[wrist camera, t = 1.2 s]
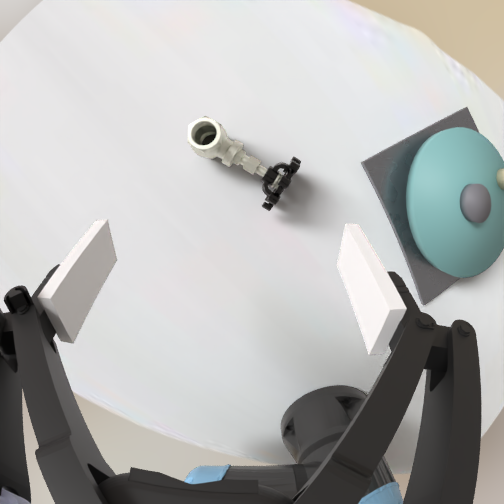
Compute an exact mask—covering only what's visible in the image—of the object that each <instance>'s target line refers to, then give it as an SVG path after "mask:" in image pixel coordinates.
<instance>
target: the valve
mask: <svg viewBox="0 0 504 504" xmlns="http://www.w3.org/2000/svg"><path fill="white" fill-rule="evenodd" d="M212 134H214V135H216V138H215V139H214V141H213V142H212V143H210V144H208V145H202V142H203V140H204V138H205V137H206V136H208V135H212ZM188 144H190V145H191V148H192V150H193V151H194V152H195V153H196V154H197V155H199V156H201V157H204V158H210V159H211V160H212V159H214V158H216V157H219V158H221V159H222V163H223V164H225V165H227V166H228V167H230V166H231V165H232V164H233V163H235V164H236V165H239V164H241V165H243V166H244V167H243V169H244V170H246V171H248V172H249V173H251V174H254V173H255V172H256V173H257V174H259V175H261V176H262V177H263V178H262V179H261V181H262V182H263V186H262V189H263V192H264V193H265V194H266V195H267V197H266V199H265V201H267V202H269V203H266V202H264V203H263V205H262V207H263V208H265V209H267V210H268V211H270V210H271V208H272V207H273V205H276V203H277V202H278V200H279V199H280V195H281V193H282V192H283V190H284V189H287V187H288V186H289V184H290V183H291V180H290V179H291V177H292V176H293V174H295V173H296V172H297V170H298V169H299V167H300V163H301V161H300V160H299V159H297V158H296V157H293V158H292V159H291V161H290V162H291V163H290V165H288V164H286V163H278V164H276V165H275V166H274V168H273V167H272V166H270V167H269V169H266V168H265V167H263V166H261V165H260V164H261V161H260V160H258V159H257V158H255V157H253V156H252V155H251V156H250V157H248V156H246V152H245V151H243V150H242V148H243V146H244V144H242V143H241V142H239V141H237V140H235V141H234V142H233V141H231V140H230V139H228V136H227V133H226V130H225V129H224V128H223V126H222V125H221V124H219V123H218V122H216V121H214V120H212V119H211V118H209V117H207V116H204V117H202V118H200V119H198V120H196V121H195V122H193V123H191V124H190V125H189V128H188ZM280 168H283V169H284V170H283V172H285V174H284V175H281V174H282V173H281V172H279V171H278V169H280ZM268 186H270V187H271V188H273V187H274V188H275V189H274V191H273V192H272V191H271V190H269V189H268Z"/></svg>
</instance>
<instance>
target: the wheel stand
mask: <svg viewBox="0 0 504 504" xmlns="http://www.w3.org/2000/svg"><path fill="white" fill-rule="evenodd" d="M455 127H464V128H469V129H472V130H474V131H476V132H478V133H479V131H478V129H477V127H476V125H475V123H474V120H473V118H472V116H471V114H470V112H469V110H468V108H467V107H466V108H463V109H461V110H459V111H457V112H455V113H453V114H452V115H450V116H448V117H446V118H444V119H442V120H440V121H438V122H436V123H434V124H432V125H430V126H428V127H426V128H424V129H423V130H421V131H419V132H417V133H415V134H413V135H411V136H409V137H407V138H406V139H404V140H402V141H400V142H398V143H396V144H394V145H392V146H391V147H389V148H387V149H385V150H383V151H381V152H379V153H378V154H376V155H374V156H372V157H370V158H368V159H366V160H365V161H363V162H361V164H362V166H363V168H364V170H365V172H366V174H367V176H368V178H369V180H370V181H371V183H372V185H373V187H374V189H375V191H376V194H377V196H378V198H379V200H380V202H381V204H382V206H383V208H384V210H385V213H386V215H387V217H388V219H389V221H390V224H391V226H392V228H393V230H394V233H395V235H396V237H397V240H398V242H399V245H400V247H401V249H402V252H403V254H404V257H405V259H406V262H407V265H408V267H409V270H410V272H411V275H412V278H413V281H414V283H415V286H416V289H417V292H418V295H419V298H420V301H421V304H423V305H425V304H426V303H428V302H429V301H431V300H432V299H433V298H435V297H436V296H437V295H439V294H440V293H441V292H443V291H444V290H445V289H447V288H448V287H449V286H450V285H452V284H453V283H454V282H456V281H457V280H458V279H459V278H461V277H455V276H452V275H450V274H448V273H445V272H443V271H441V270H439V269H437V268H436V267H434V266H433V265H432V264H431V263H429V262H428V261H427V260H426V258H425V257H424V256H423V255H422V253H421V252H420V250H419V248H418V247H417V245H416V242H415V240H414V238H413V235H412V232H411V229H410V226H409V221H408V216H407V208H406V189H407V181H408V175H409V171H410V168H411V165H412V162H413V160H414V157H415V155H416V154H417V152H418V150H419V148H420V147H421V146H422V144H423V143H424V142H425V141H426V140H427V139H428V138H429V137H431V136H432V135H434V134H436V133H438V132H440V131H443V130H447V129H450V128H455Z"/></svg>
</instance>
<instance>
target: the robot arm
mask: <svg viewBox="0 0 504 504" xmlns="http://www.w3.org/2000/svg"><path fill="white" fill-rule="evenodd" d="M116 261H117V258H116V254H115V250H114V245H113V241H112V237H111V233H110V228H109V223H108V220H96V221H95V222H94V223H93V224H92V226H91V227H90V228H89V229H88V230H87V232H86V233H85V234H84V235H83V236H82V238H81V239H80V240H79V241H78V243H77V244H76V245H75V246H74V248H73V249H72V250H71V251H70V253H69V254H68V255H67V257H66V258H65V259H64V261H63V262H62V263H61V265H60V264H58V265H57V266H55V267H54V268H53V269H52V270H51V271H50V272H49V273H48V275H47V276H46V278H45V279H44V280H43V281H42V283H41V284H40V286H39V287H38V288H37V290H36V291H35V293H34V294H33V296H32V297H30V295H29V293H28V291H27V288H26V287H25V286H17V287H14V288H12V289H11V290H10V291H8V292H7V294H6V295H5V297H4V302H5V304H6V306H7V307H8V309H9V311H10V312H8V313H3V312H2V311H1V309H0V504H31V493H30V483H29V476H28V469H27V464H26V463H27V462H26V454H25V445H24V435H23V417H22V388H23V392H24V396H25V400H26V404H27V408H28V412H29V416H30V419H31V423H32V426H33V429H34V432H35V435H36V438H37V441H38V445H39V448H38V449H37V450H36V451H35V455H36V459H37V462H38V464H39V467H40V470H41V472H42V475H43V477H44V480H45V482H46V484H47V487H48V489H49V491H50V493H51V495H52V497H53V500H54V502H55V504H473V499H474V494H475V487H476V481H477V473H478V465H479V454H480V440H481V382H480V367H479V356H478V347H477V339H476V333H475V330H474V328H473V327H472V325H470V324H469V323H468V322H466V321H464V320H455V321H454V322H453V323H452V325H451V327H446V326H440V325H437V324H436V322H435V320H434V319H433V318H432V317H431V316H430V315H428V314H426V313H423V312H421V311H420V309H419V308H418V306H417V304H416V302H415V300H414V299H413V297H412V295H411V293H409V290H408V288H407V287H406V285H405V283H404V281H403V280H402V278H401V277H400V276H399V275H398V274H396V273H395V272H387V271H386V269H385V268H384V266H383V264H382V262H381V261H380V259H379V257H378V256H377V254H376V252H375V251H374V249H373V247H372V245H371V244H370V242H369V241H368V239H367V237H366V236H365V234H364V232H363V231H362V229H361V228H360V226H359V224H346V223H345V228H344V233H343V238H342V243H341V247H340V252H339V256H338V261H337V267H338V270H339V273H340V275H341V278H342V280H343V283H344V286H345V288H346V291H347V294H348V296H349V299H350V302H351V305H352V307H353V310H354V313H355V316H356V319H357V321H358V324H359V327H360V330H361V333H362V336H363V339H364V342H365V345H366V348H367V351H368V354H369V355H375V354H384V353H385V351H386V349H387V347H388V345H389V346H390V349H391V351H392V352H391V354H390V356H389V358H388V359H387V361H386V363H385V364H384V366H383V369H382V371H381V373H380V375H379V376H378V378H377V380H376V382H375V384H374V385H373V387H372V389H371V391H370V392H369V394H368V396H366V395H365V394H364V393H363V392H361V391H360V390H358V389H356V388H353V387H348V386H329V387H324V388H321V389H317V390H315V391H312V392H310V393H308V394H306V395H304V396H302V397H301V398H299V399H298V400H296V401H295V402H294V403H293V404H292V405H291V406H290V407H289V408H288V409H287V411H286V412H285V414H284V416H283V418H282V421H281V433H282V439H283V442H284V444H285V446H286V447H287V449H288V450H289V452H290V453H291V455H292V456H293V458H294V459H295V461H296V462H297V463H298V464H294V465H275V466H231V465H229V464H228V465H226V466H199V467H196V468H194V469H193V470H192V471H191V472H190V473H189V474H188V476H187V477H186V479H185V481H184V482H183V481H180V480H178V479H175V478H172V477H170V476H167V475H165V474H162V473H159V472H153V471H147V470H142V469H137V468H132V467H131V469H130V473H123V474H119V475H115V473H114V472H113V470H112V469H111V468H110V467H109V465H108V464H107V463H106V462H105V460H104V459H103V457H102V455H101V453H100V451H99V449H98V448H97V446H96V444H95V442H94V440H93V438H92V436H91V434H90V431H89V429H88V428H87V425H86V423H85V421H84V418H83V416H82V414H81V412H80V409H79V407H78V405H77V402H76V400H75V398H74V395H73V392H72V390H71V387H70V384H69V382H68V379H67V376H66V373H65V371H64V368H63V365H62V362H61V359H60V356H59V352H58V349H57V346H56V343H55V341H54V340H53V337H54V336H55V334H57V335H58V337H59V339H60V341H63V342H68V343H74V341H75V339H76V337H77V335H78V333H79V331H80V329H81V327H82V325H83V323H84V320H85V318H86V316H87V315H88V313H89V311H90V309H91V307H92V305H93V303H94V301H95V299H96V297H97V295H98V293H99V291H100V290H101V288H102V286H103V284H104V282H105V280H106V279H107V277H108V275H109V273H110V272H111V270H112V268H113V266H114V265H115V263H116ZM423 369H427V373H426V385H425V395H424V404H423V412H422V419H421V425H420V432H419V437H418V443H417V448H416V453H415V458H414V463H413V467H412V471H411V475H410V480H409V483H408V487H407V491H406V494H405V498H404V501H403V499H402V496H401V493H400V490H399V484H398V483H397V482H396V481H395V479H394V477H393V474H392V472H391V470H390V468H389V466H388V464H387V462H386V460H385V458H384V454H385V452H386V450H387V448H388V446H389V444H390V442H391V441H392V439H393V437H394V435H395V433H396V431H397V429H398V427H399V425H400V423H401V421H402V419H403V416H404V414H405V412H406V410H407V408H408V406H409V403H410V401H411V399H412V396H413V394H414V392H415V389H416V387H417V384H418V382H419V379H420V377H421V374H422V372H423Z"/></svg>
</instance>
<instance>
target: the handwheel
mask: <svg viewBox="0 0 504 504" xmlns="http://www.w3.org/2000/svg"><path fill="white" fill-rule="evenodd" d="M406 208H407V216H408V221H409V226H410V229H411V232H412V235H413V238H414V240H415V242H416V245H417V247H418V248H419V250H420V252H421V253H422V255H423V256H424V257H425V258H426V260H427V261H428V262H429V263H431V264H432V265H433V266H434V267H436V268H437V269H439V270H441V271H443V272H445V273H448V274H450V275H452V276H455V277H462V278H467V277H472V276H475V275H478V274H480V273H482V272H483V271H485V270H486V269H487V268H489V267H490V266H491V265H492V264H493V263H494V262H495V261H496V259H497V258H498V257H499V255H500V253H501V252H502V250H503V248H504V161H503V159H502V157H501V156H500V154H499V152H498V151H497V150H496V148H495V147H494V146H493V144H492V143H491V142H490V141H489V140H488V139H487V138H485V137H484V136H483V135H481V134H480V133H478V132H476V131H474V130H472V129H469V128H464V127H455V128H450V129H447V130H443V131H440V132H438V133H436V134H434V135H432V136H431V137H429V138H428V139H427V140H426V141H425V142H424V143H423V144H422V146H421V147H420V148H419V150H418V152H417V154H416V155H415V157H414V160H413V162H412V165H411V168H410V171H409V175H408V181H407V189H406Z"/></svg>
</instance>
